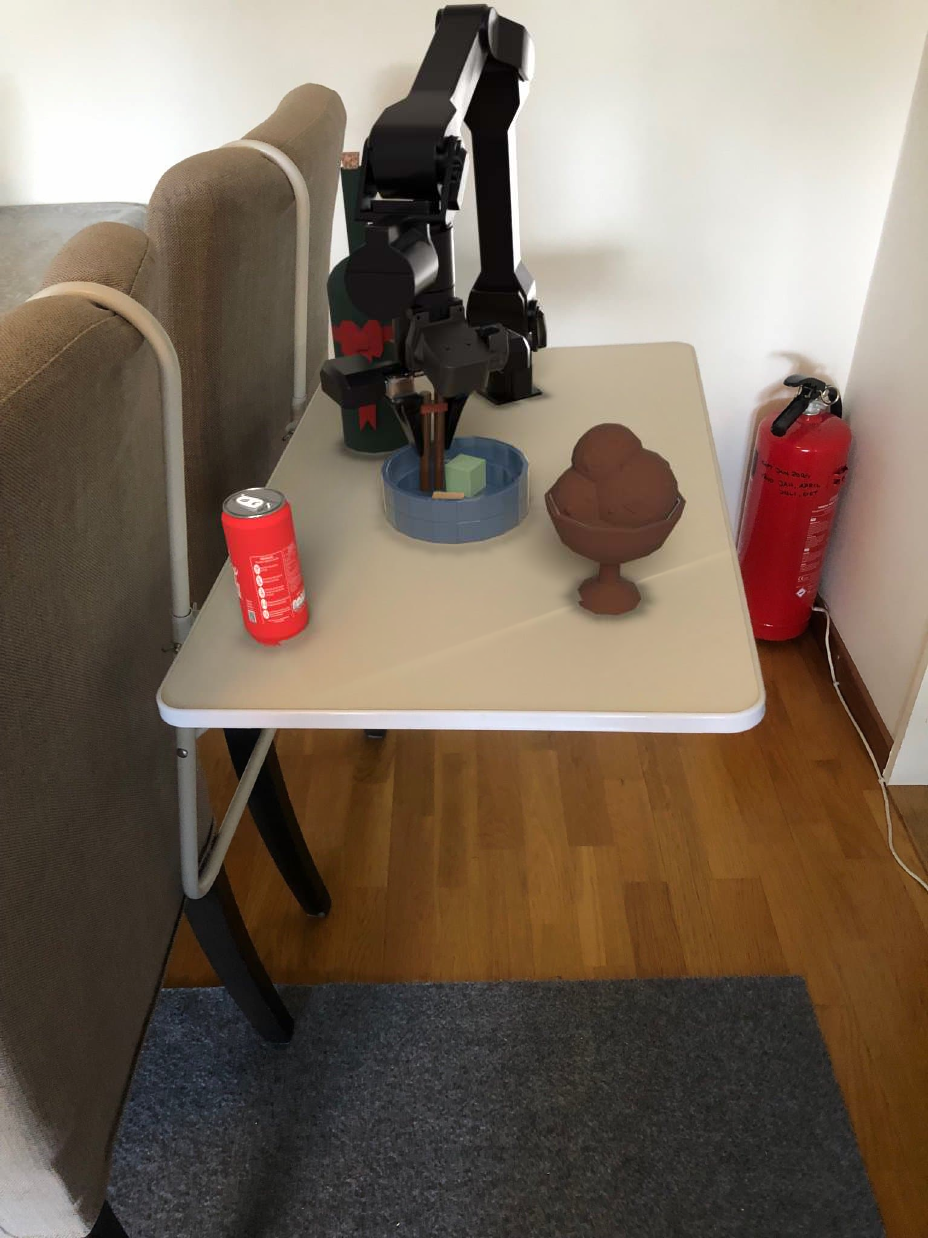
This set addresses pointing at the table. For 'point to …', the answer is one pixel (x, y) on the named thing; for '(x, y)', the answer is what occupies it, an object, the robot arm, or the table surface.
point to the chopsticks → (439, 409)
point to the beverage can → (265, 564)
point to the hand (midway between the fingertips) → (432, 451)
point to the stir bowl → (465, 516)
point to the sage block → (465, 475)
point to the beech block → (448, 495)
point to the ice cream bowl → (613, 510)
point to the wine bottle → (360, 334)
